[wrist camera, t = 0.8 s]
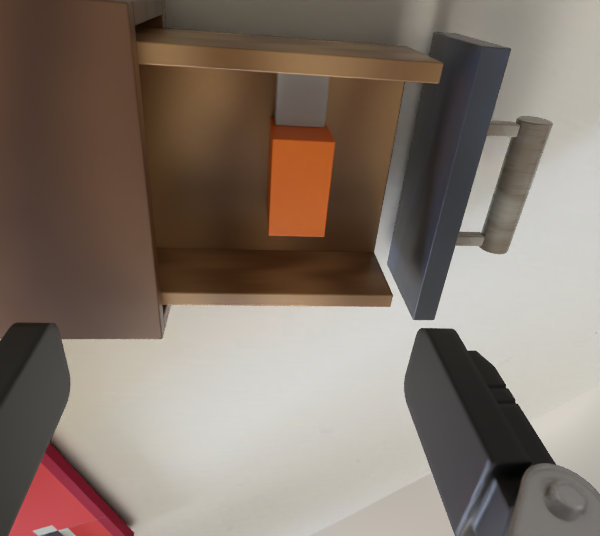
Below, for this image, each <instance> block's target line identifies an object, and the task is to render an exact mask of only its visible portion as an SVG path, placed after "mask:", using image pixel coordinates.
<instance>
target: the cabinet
mask: <svg viewBox="0 0 600 536" xmlns="http://www.w3.org/2000/svg"><path fill="white" fill-rule="evenodd" d="M135 26H139V27H153V28H166V16H165V2H164V0H0V339H2V338H3V336H4V335H5V333H6V332H7V331H8V329H9V328H10V327H11V325H13V324H14V323H17V322H24V323H55V324H56V325H57V326H58V328H59V331H60V336H61V339H162V338H163V334H164V330H165V326H166V322H167V318H168V314H169V310H170V306H171V305H162V297H161V287H160V276H159V266H158V256H157V246H156V236H155V226H154V216H153V206H152V196H151V186H150V176H149V165H148V155H147V145H146V135H145V125H144V115H143V105H142V95H141V85H140V75H139V64H138V54H137V44H136V34H135Z"/></svg>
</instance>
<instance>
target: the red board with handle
mask: <svg viewBox="0 0 600 536" xmlns="http://www.w3.org/2000/svg"><path fill="white" fill-rule="evenodd" d="M8 536H134V532H133V531H132V530H131V529H130V528H129V527H128V526H127V525H126V524H125V523H124V522H123V521H122V520H121V518H120V517H119V516H118V515H117V514H116V513H115V512H114V511H113V510H112V509H111V508H110V507H109V506H108V505H107V503H106V502H105V501H104V500H103V499H102V498H101V497H100V496H99V495H98V494H97V493H96V492H95V491H94V490H93V488H92V487H91V486H90V485H89V484H88V483H87V482H86V481H85V480H84V479H83V478H82V477H81V476H80V475H79V473H78V472H77V471H76V470H75V469H74V468H73V467H72V466H71V465H70V464H69V463H68V462H67V461H66V460H65V459H64V457H63V456H62V455H61V454H60V453H59V452H58V451H57V450H56V449H55V448H54V447H53V446H52V445H51V444H50V443H49V445H48V447H47V449H46V452H45V454H44V456H43V458H42V461H41V463H40V465H39V468H38V470H37V472H36V474H35V477H34V479H33V481H32V483H31V486H30V488H29V490H28V492H27V495H26V497H25V499H24V501H23V504H22V506H21V508H20V510H19V513H18V515H17V517H16V520H15V522H14V524H13V526H12V529H11V531H10V533H9V535H8Z"/></svg>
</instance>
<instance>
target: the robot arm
mask: <svg viewBox="0 0 600 536" xmlns="http://www.w3.org/2000/svg"><path fill="white" fill-rule="evenodd" d="M404 391H405V398H406V402H407V405H408V408H409V411H410V414H411V416H412V419H413V422H414V425H415V427H416V430H417V433H418V436H419V438H420V441H421V444H422V447H423V449H424V452H425V455H426V457H427V460H428V463H429V466H430V468H431V471H432V474H433V477H434V479H435V482H436V485H437V487H438V490H439V493H440V495H441V498H442V501H443V504H444V507H445V509H446V512H447V515H448V518H449V520H450V523H451V526H452V529H453V531H454V534H455V536H600V494H599V493H598V491H597V490H596V489H595V488H594V487H593V486H592V485H591V484H590V483H589V482H587V481H586V480H585V479H584V478H582V477H581V476H579V475H578V474H576V473H574V472H572V471H571V470H569V469H566V468H564V467H561V466H558V465H556V464H555V462H554V461H553V459H552V458H551V456H550V454H549V453H548V451H547V450H546V448H545V446H544V445H543V443H542V442H541V440H540V439H539V437H538V435H537V434H536V432H535V431H534V429H533V427H532V426H531V424H530V423H529V421H528V419H527V418H526V416H525V415H524V413H523V411H522V410H521V408H520V407H519V405H518V404H516V403H515V399H514V397H513V395H512V394H511V392H510V391H509V389H506V384H505V383H504V381H503V380H502V378H501V376H500V375H499V373H498V372H497V370H496V368H495V367H494V366H493V365H492V364H491V363H490V362H488V361H487V360H486V359H485V358H484V357H483V356H481V355H480V354H479V353H478V352H477V351H467V349H466V347H465V346H464V344H463V342H462V340H461V339H460V337H459V335H458V334H457V332H456V331H455V330H454V329H440V328H421V329H419V331H418V332H417V335H416V338H415V342H414V345H413V349H412V353H411V356H410V360H409V364H408V367H407V371H406V375H405V381H404ZM69 392H70V374H69V370H68V365H67V361H66V357H65V353H64V348H63V344H62V340H61V336H60V331H59V328H58V326H57V325H56V324H55V323H24V322H17V323H14V324H13V325H11V327H10V328H9V329H8V331H7V332H6V333H5V335H4V336H3V338H2V339H1V341H0V536H8V535H9V533H10V531H11V529H12V526H13V524H14V522H15V520H16V517H17V515H18V513H19V510H20V508H21V506H22V504H23V501H24V499H25V497H26V495H27V492H28V490H29V488H30V486H31V483H32V481H33V479H34V477H35V474H36V472H37V470H38V468H39V465H40V463H41V461H42V458H43V456H44V454H45V452H46V449H47V447H48V445H49V443H50V440H51V438H52V436H53V434H54V431H55V429H56V427H57V425H58V422H59V420H60V418H61V416H62V413H63V411H64V409H65V407H66V404H67V401H68V397H69Z"/></svg>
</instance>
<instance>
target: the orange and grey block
mask: <svg viewBox="0 0 600 536" xmlns="http://www.w3.org/2000/svg"><path fill="white" fill-rule="evenodd" d="M329 82H330V77H328V76H312V75H297V74H282V73H276V96H275V118H270V129H269V154H268V179H267V204H266V206H267V223H268V235H269V236H306V237H324V236H325V228H326V219H327V211H328V202H329V193H330V185H331V176H332V167H333V159H334V150H335V141H334V139H333V137H332V135H331V133H330V131H329V129H328V127H327V125H326V123H325V121H326V111H327V101H328V91H329Z"/></svg>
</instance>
